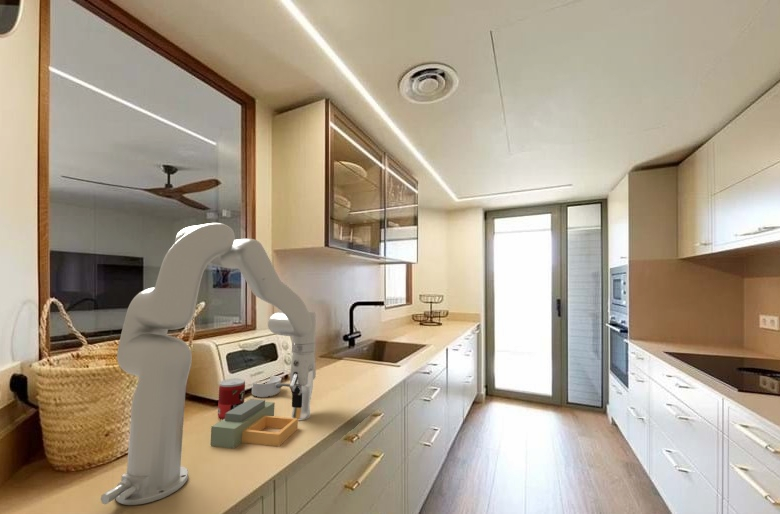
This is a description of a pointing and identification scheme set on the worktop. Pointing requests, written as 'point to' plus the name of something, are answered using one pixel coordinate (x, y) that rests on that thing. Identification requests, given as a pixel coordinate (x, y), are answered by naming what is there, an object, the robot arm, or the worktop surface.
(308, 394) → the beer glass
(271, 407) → the stepped block with tray
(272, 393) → the saucepan
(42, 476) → the worktop surface
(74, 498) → the worktop surface
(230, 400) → the canned food
